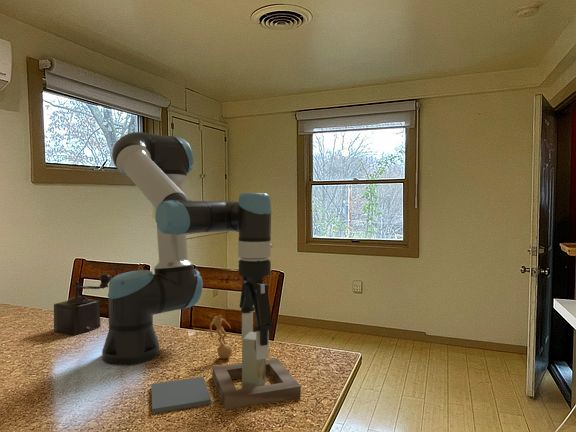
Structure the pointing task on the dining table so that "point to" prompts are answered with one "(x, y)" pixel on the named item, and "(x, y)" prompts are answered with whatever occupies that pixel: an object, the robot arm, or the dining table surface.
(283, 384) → the stand
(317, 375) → the dining table surface
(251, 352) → the skincare box
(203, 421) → the dining table surface
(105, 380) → the dining table surface
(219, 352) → the figurine
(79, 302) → the dark grey handled box
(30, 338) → the dining table surface
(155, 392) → the slate pad
